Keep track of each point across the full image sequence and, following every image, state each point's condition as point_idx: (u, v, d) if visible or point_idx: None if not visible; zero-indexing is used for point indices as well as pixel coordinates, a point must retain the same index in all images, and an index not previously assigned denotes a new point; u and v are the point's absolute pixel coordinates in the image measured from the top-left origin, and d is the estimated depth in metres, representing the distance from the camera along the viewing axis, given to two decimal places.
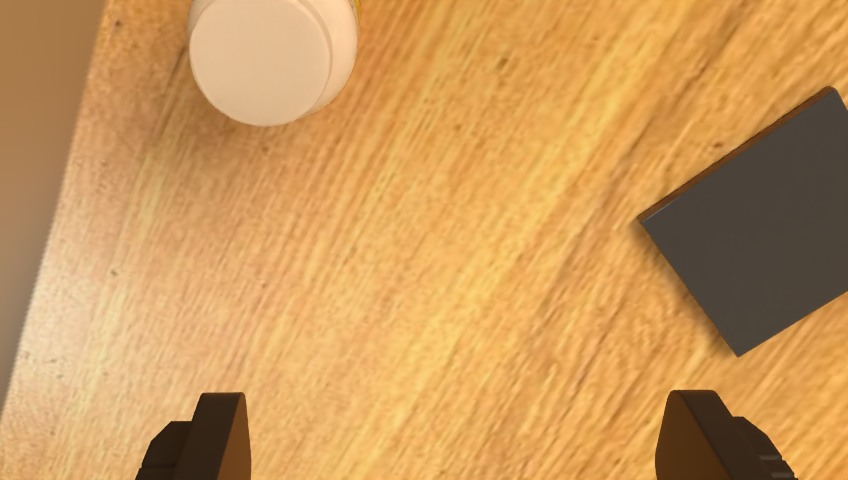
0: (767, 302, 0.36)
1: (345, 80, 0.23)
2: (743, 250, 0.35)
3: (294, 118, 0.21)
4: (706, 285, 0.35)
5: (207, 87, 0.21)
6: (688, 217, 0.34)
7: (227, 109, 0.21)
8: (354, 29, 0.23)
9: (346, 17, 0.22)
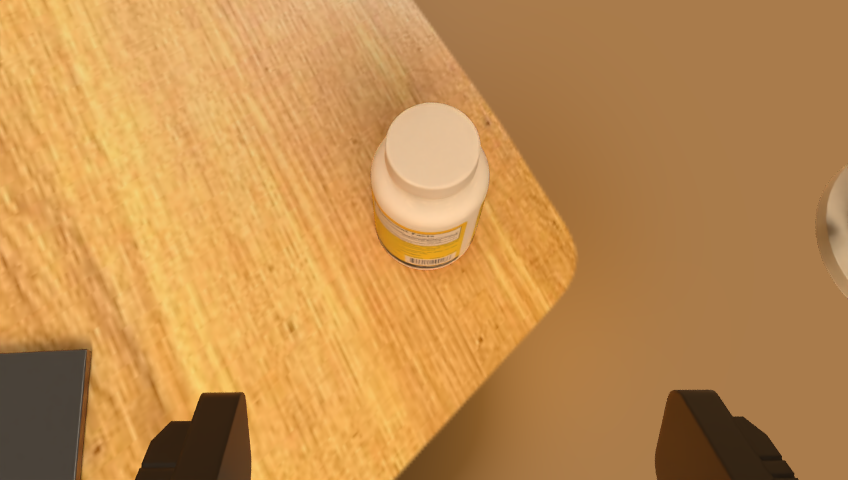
0: None
1: (377, 193, 0.32)
2: None
3: (387, 137, 0.30)
4: None
5: (439, 107, 0.30)
6: (57, 389, 0.35)
7: (420, 107, 0.30)
8: (402, 220, 0.32)
9: (413, 219, 0.31)
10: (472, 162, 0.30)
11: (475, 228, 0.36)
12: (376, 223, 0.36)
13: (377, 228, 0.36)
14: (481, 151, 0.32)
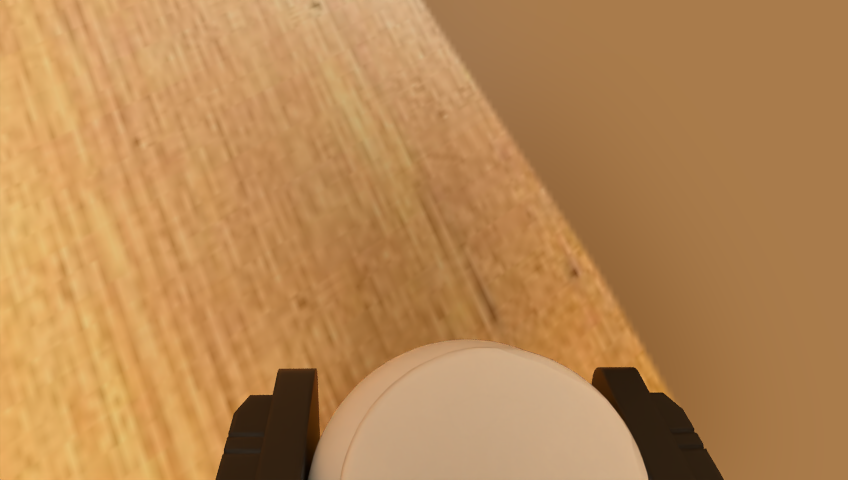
0: None
1: None
2: None
3: (346, 472, 0.09)
4: None
5: (520, 367, 0.10)
6: None
7: (458, 366, 0.09)
8: None
9: None
10: None
11: None
12: None
13: None
14: None
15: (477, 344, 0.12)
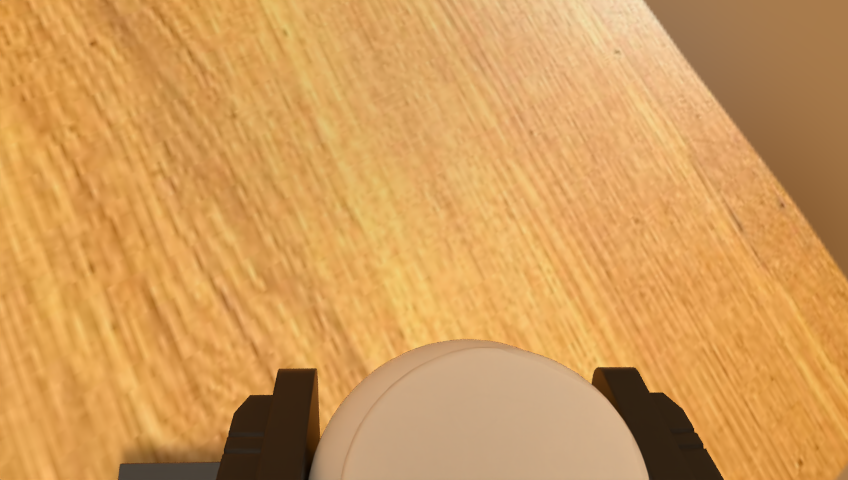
0: None
1: None
2: None
3: (347, 472, 0.09)
4: None
5: (520, 367, 0.09)
6: None
7: (459, 366, 0.09)
8: None
9: None
10: None
11: None
12: None
13: None
14: None
15: (478, 344, 0.12)
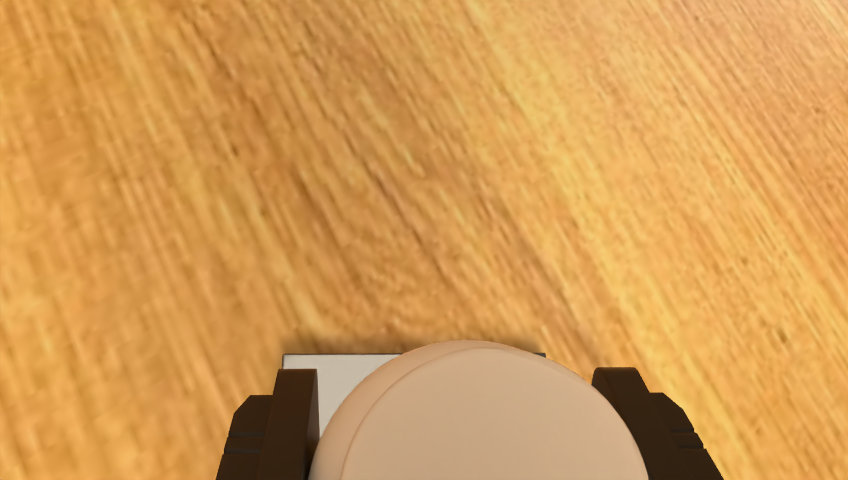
0: None
1: None
2: None
3: (346, 473, 0.09)
4: None
5: (520, 367, 0.09)
6: None
7: (458, 367, 0.09)
8: None
9: None
10: None
11: None
12: None
13: None
14: None
15: (477, 344, 0.12)
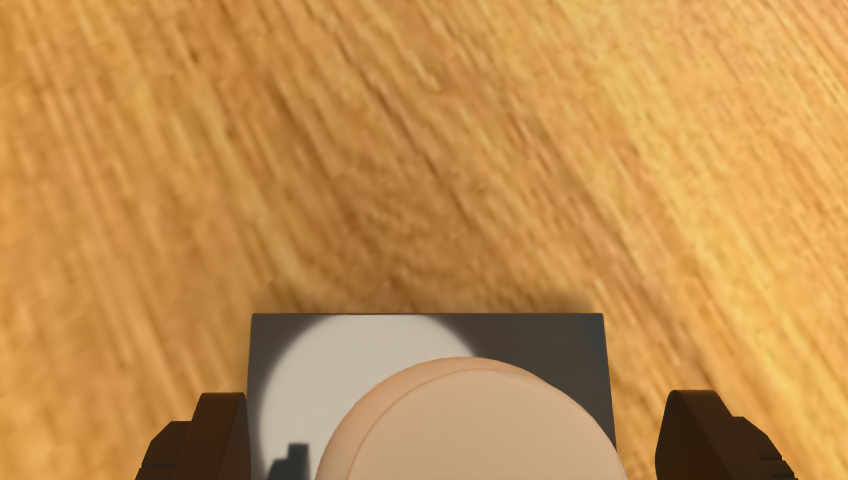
0: (323, 412, 0.19)
1: None
2: None
3: None
4: (428, 340, 0.20)
5: (511, 388, 0.10)
6: (566, 379, 0.20)
7: (454, 387, 0.10)
8: None
9: None
10: None
11: None
12: None
13: None
14: None
15: (473, 362, 0.13)
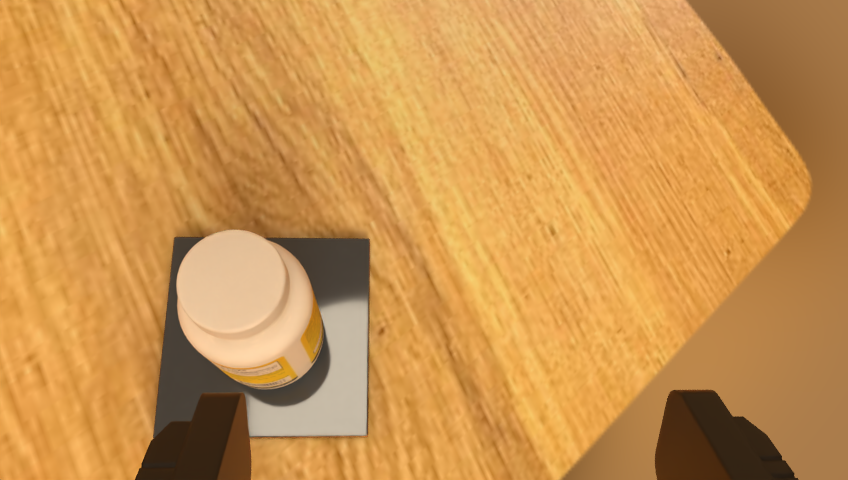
0: None
1: (180, 322, 0.28)
2: None
3: (180, 269, 0.27)
4: None
5: (244, 236, 0.27)
6: (345, 273, 0.37)
7: (222, 235, 0.27)
8: (205, 355, 0.28)
9: (215, 355, 0.28)
10: (272, 303, 0.26)
11: (311, 351, 0.33)
12: None
13: None
14: (302, 279, 0.29)
15: None
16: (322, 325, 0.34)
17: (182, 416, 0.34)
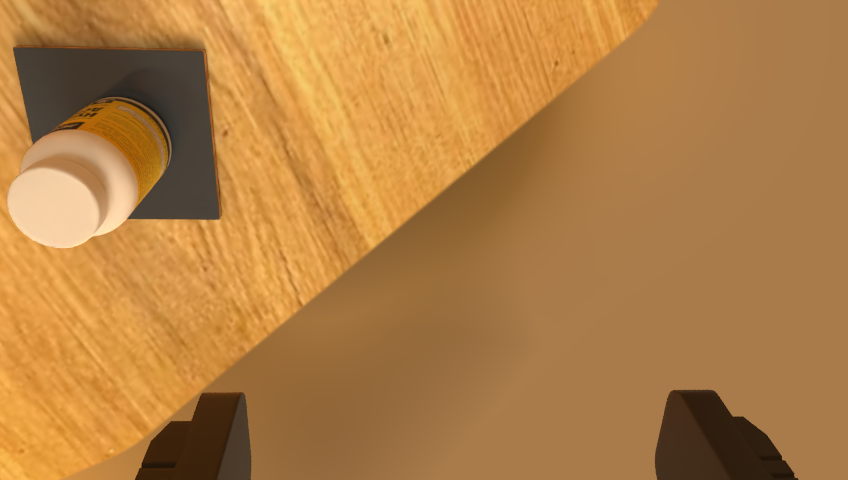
0: (61, 98, 0.40)
1: None
2: None
3: (8, 200, 0.32)
4: (109, 63, 0.39)
5: (54, 173, 0.31)
6: (183, 85, 0.40)
7: (34, 173, 0.31)
8: None
9: None
10: (92, 227, 0.33)
11: (155, 182, 0.39)
12: None
13: None
14: (121, 176, 0.34)
15: (68, 138, 0.33)
16: (165, 147, 0.40)
17: None
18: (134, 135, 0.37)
